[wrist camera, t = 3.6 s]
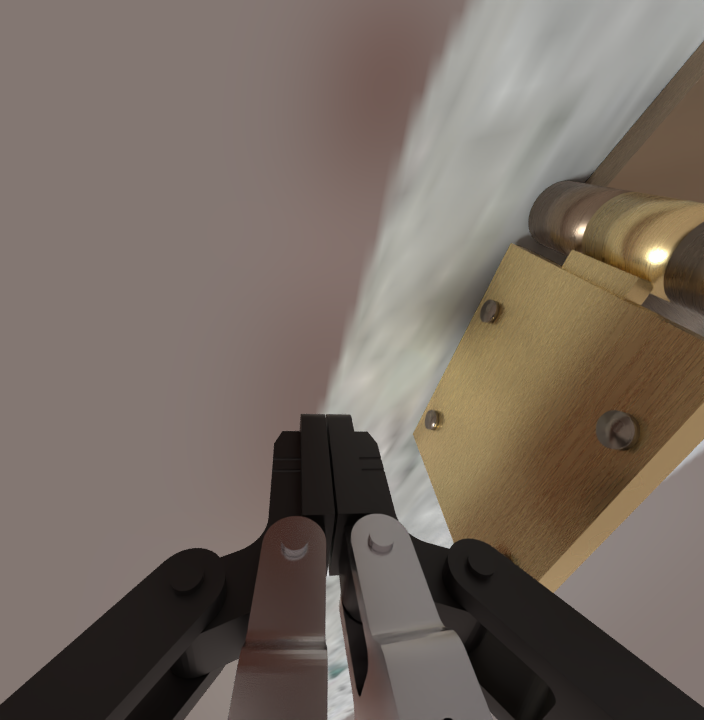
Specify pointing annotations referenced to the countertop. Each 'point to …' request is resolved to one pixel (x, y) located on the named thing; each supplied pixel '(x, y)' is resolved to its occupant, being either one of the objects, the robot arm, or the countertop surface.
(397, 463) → the countertop surface
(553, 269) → the plate
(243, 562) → the robot arm
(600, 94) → the countertop surface
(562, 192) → the hinge mount
